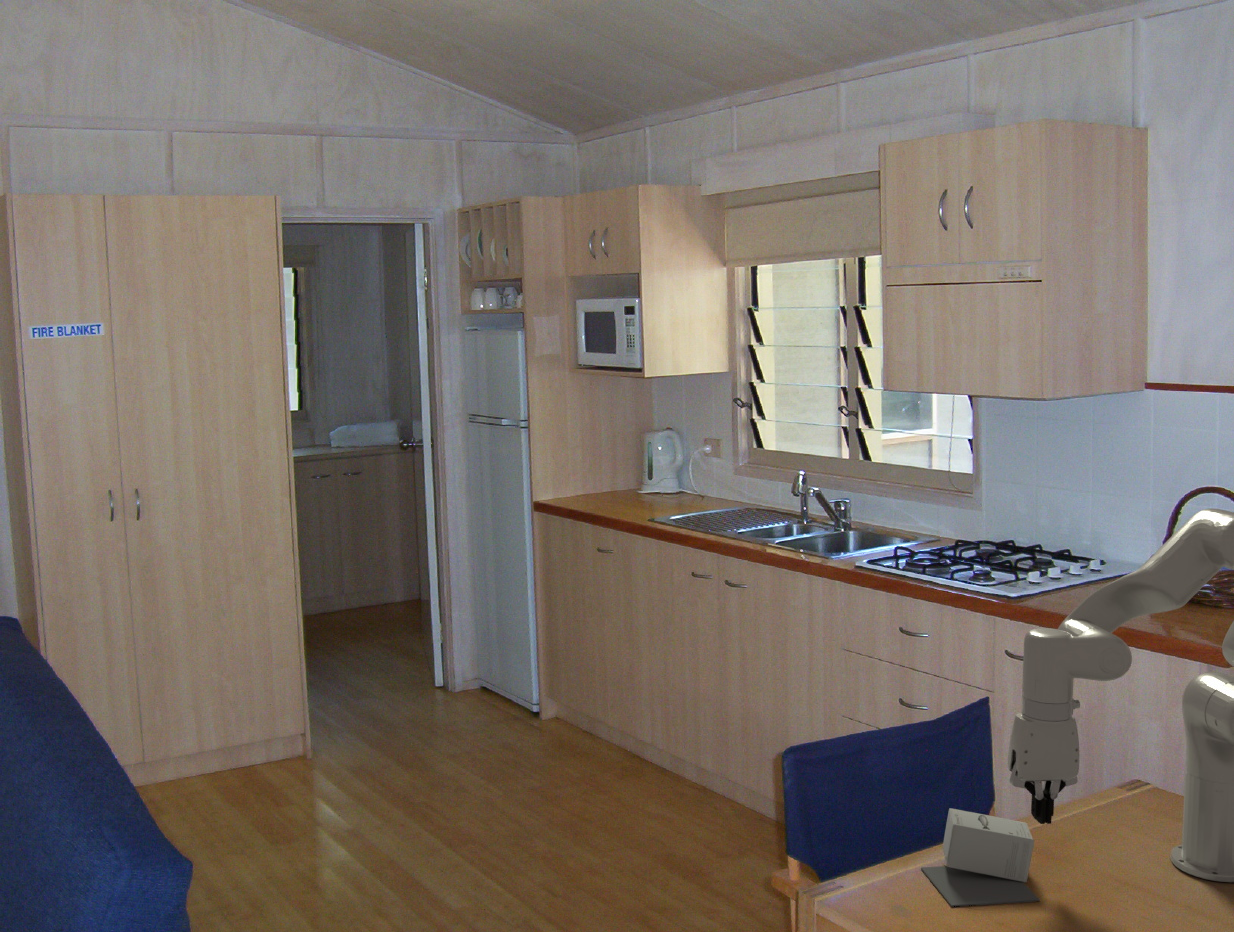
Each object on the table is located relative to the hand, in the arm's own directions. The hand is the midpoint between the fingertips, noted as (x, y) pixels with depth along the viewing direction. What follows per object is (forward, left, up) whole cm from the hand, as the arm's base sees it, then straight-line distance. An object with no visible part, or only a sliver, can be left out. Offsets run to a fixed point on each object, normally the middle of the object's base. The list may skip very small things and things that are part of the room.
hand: (1041, 820), depth 195 cm
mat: (+11, +2, -9) cm, 14 cm away
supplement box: (+2, -1, -6) cm, 6 cm away
